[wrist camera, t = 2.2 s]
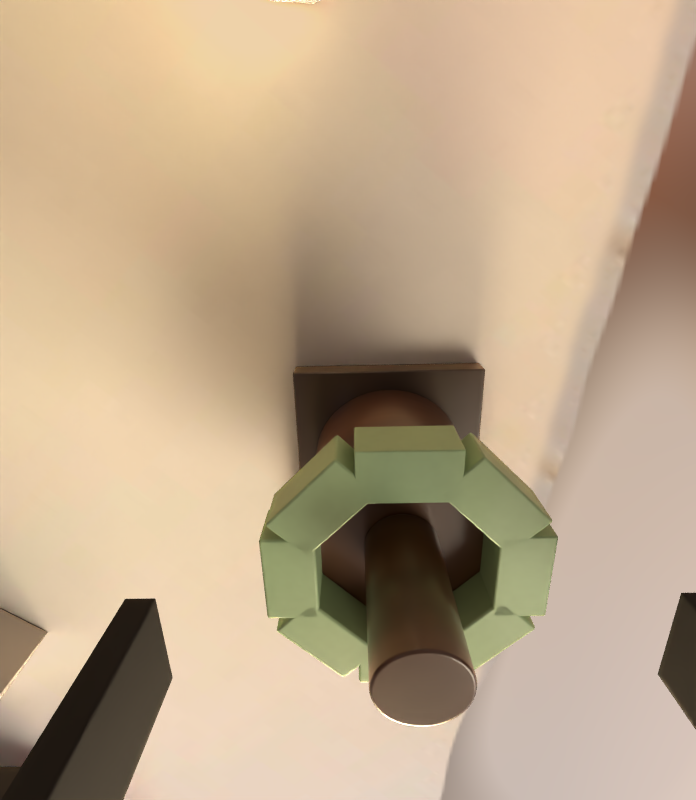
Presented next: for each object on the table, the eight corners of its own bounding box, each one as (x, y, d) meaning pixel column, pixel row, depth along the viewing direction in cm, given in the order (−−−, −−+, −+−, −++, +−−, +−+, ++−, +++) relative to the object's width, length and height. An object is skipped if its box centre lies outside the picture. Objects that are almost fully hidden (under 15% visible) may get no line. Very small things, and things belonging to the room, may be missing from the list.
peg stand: (479, 362, 20) (643, 539, 9) (466, 517, 23) (578, 803, 11) (295, 366, 20) (221, 544, 9) (305, 520, 23) (260, 803, 12)
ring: (548, 423, 13) (573, 447, 12) (518, 640, 16) (534, 682, 15) (260, 428, 13) (247, 453, 12) (281, 642, 16) (274, 683, 15)
